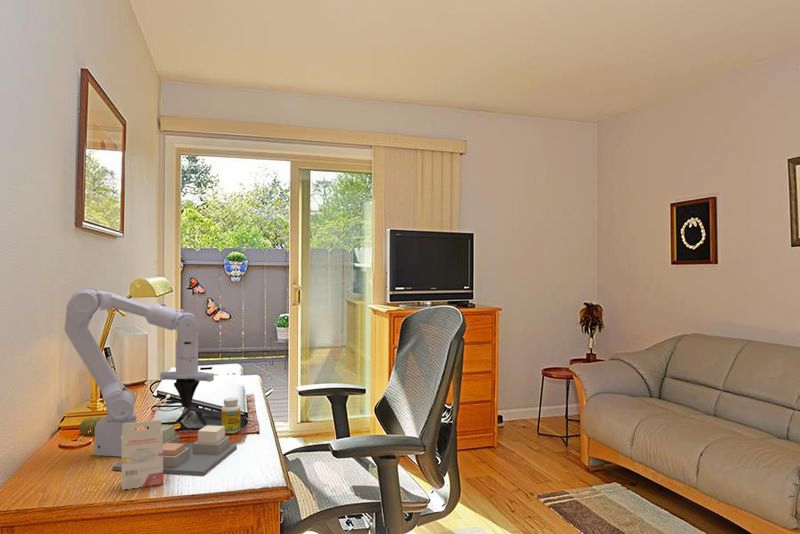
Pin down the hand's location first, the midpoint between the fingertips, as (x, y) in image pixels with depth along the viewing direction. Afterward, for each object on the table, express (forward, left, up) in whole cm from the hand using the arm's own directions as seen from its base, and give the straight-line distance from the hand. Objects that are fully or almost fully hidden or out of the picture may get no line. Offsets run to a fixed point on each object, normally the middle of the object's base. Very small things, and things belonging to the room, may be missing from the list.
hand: (186, 406), depth 154 cm
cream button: (+10, -6, -7) cm, 14 cm away
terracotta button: (+4, -16, -9) cm, 19 cm away
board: (+4, -11, -10) cm, 16 cm away
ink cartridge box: (+4, -27, -11) cm, 29 cm away
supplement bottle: (+7, +13, -11) cm, 18 cm away
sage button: (-3, -7, -7) cm, 11 cm away
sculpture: (-31, +6, -11) cm, 34 cm away
